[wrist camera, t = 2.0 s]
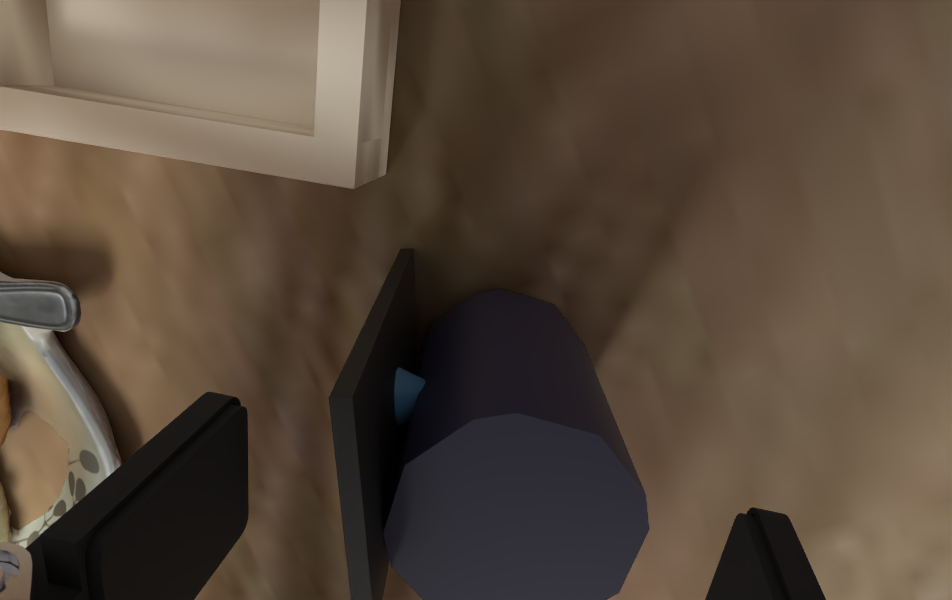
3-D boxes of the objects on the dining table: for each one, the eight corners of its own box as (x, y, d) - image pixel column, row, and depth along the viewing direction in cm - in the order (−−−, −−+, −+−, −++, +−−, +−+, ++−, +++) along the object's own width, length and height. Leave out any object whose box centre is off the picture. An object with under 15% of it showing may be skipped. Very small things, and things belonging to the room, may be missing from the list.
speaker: (355, 392, 22) (235, 631, 12) (402, 243, 20) (307, 381, 10) (553, 457, 22) (593, 737, 13) (616, 318, 21) (720, 518, 11)
